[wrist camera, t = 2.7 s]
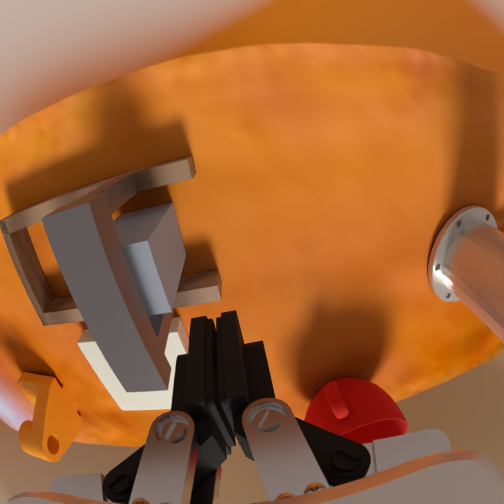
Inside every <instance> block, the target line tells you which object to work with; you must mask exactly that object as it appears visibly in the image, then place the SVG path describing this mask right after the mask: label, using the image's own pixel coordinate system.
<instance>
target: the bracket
mask: <svg viewBox="0 0 504 504" xmlns="http://www.w3.org/2000/svg"><path fill="white" fill-rule="evenodd" d="M18 384H19V385H20V387H21V388H22V390H23V391H24V392H25V394H26V395H27V397H28V398H29V400H30V401H31V402H32V404H33V405H34V406H35V409H34V416H33V421H30V420H27V421H24V422H23V423H22V424H21V426H20V429H19V442H20V445H21V447H22V449H23V450H24V451H25V452H26V453H28V454H30V455H33V456H36V457H39V458H42V459H45V460H48V461H51V462H57V461H59V460H60V458H61V457H62V456H63V454H64V453H65V451H66V450H67V449H68V447H69V446H70V444H71V443H72V442H73V440H74V439H75V437H76V436H77V435H78V433H79V432H80V431H81V428H82V425H83V422H84V421H83V420H82V419H81V417H80V416H79V414H78V413H77V411H78V407H77V406H76V404H75V403H74V401H73V400H72V398H71V397H70V395H69V394H68V392H67V390H66V389H65V387H64V386H62V385H59V384H58V382H57V380H56V379H55V377H50V376H44V375H38V374H32V373H27V372H23V373H22V375H21V377H20V378H19V380H18Z"/></svg>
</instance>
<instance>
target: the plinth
mask: <svg viewBox="0 0 504 504" xmlns="http://www.w3.org/2000/svg"><path fill="white" fill-rule="evenodd" d="M77 344H78V345H79V347H80V349H81V350H82V352H83V354H84V355H85V357H86V358H87V360H88V362H89V363H90V365H91V366H92V368H93V370H94V371H95V373H96V374H97V376H98V377H99V379H100V380H101V382H102V383H103V384H104V386H105V387H106V389H107V390H108V392H109V393H110V394H111V396H112V397H113V399H114V400H115V401H116V403H117V404H118V405H119V407H120V408H121V409H122V410H157V409H171V404H172V394H173V384H174V375H175V366H176V359H177V356H178V355H182V354H188V347H189V339H188V336H187V334H186V331H185V328H184V326H183V323H182V320H181V317H174V318H172V321H171V326H170V330H169V335H168V339H167V344H166V349H165V356H166V358H167V360H168V362H169V364H170V366H171V375H170V381H169V387H168V390H164V391H149V392H126V391H125V389H124V388H123V386H122V385H121V383H120V382H119V380H118V379H117V377H116V375H115V374H114V372H113V371H112V369H111V367H110V366H109V364H108V363H107V361H106V359H105V358H104V356H103V354H102V352H101V351H100V349H99V347H98V346H97V344H96V342H95V340H94V338H93V337H92V335H91V333H90V331H89V329H84V331H83V333H82V335H81V337H80V339H79V340H78V342H77Z"/></svg>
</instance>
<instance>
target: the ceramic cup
mask: <svg viewBox="0 0 504 504" xmlns="http://www.w3.org/2000/svg"><path fill="white" fill-rule="evenodd" d="M304 421H306V422H308V423H310V424H313V425H315V426H317V427H320V428H322V429H325V430H327V431H330V432H332V433H335V434H337V435H340V436H343V437H345V438H348V439H351V440H353V441H356V442H358V443H360V444H366V443H373V440H378V439H384V438H389V437H395V436H400V435H404V434H405V433H406V431H407V427H408V424H407V421H406V419H405V417H404V415H403V414H402V412H401V411H400V409H399V407H398V406H397V405H396V403H395V402H394V401H393V399H392V398H391V397H390V396H389V395H388V394H387V393H386V392H385V391H384V390H383V389H381V388H380V387H379V386H377V385H376V384H374V383H371V382H369V381H366V380H363V379H357V378H354V377H341V378H337V379H334V380H332V381H330V382H328V383H327V384H325V385H324V386H322V387H321V388H320V389H319V391H318V392H317V394H316V396H315V397H314V398H313V400H312V402H311V404H310V405H309V407H308V410H307V413H306V416H305V420H304Z"/></svg>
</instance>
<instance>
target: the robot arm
mask: <svg viewBox="0 0 504 504" xmlns="http://www.w3.org/2000/svg"><path fill="white" fill-rule="evenodd" d="M428 278H429V284H430V286H431V289H432V290H433V292H434V293H435V294H436V295H437V296H438V297H439V298H440V299H442V300H444V301H447V302H454V301H458V300H461V301H462V302H463V303H464V304H465V305H466V306H467V307H468V308H469V309H470V310H471V311H472V312H473V313H475V314H476V315H477V316H478V317H479V318H480V319H481V320H482V321H483V322H484V323H485V324H486V325H487V326H488V327H489V328H490V329H491V330H492V331H493V332H494V333H495V334H496V335H497V336H498V337H499V339H500V340H501V341H502V342H503V343H504V233H503V232H501V231H500V230H498V228H497V223H496V221H495V218H494V216H493V215H492V214H491V212H489V211H488V210H487V209H485V208H483V207H480V206H476V205H471V206H466V207H464V208H462V209H460V210H459V211H458V212H456V213H455V214H454V215H453V216H452V217H451V218H450V219H449V220H448V221H447V222H446V224H445V225H444V226H443V228H442V229H441V231H440V233H439V234H438V236H437V238H436V240H435V243H434V245H433V248H432V251H431V255H430V258H429V265H428ZM235 436H236V438H237V440H238V442H239V444H240V446H241V448H242V450H243V451H244V454H245V456H246V457H248V458H249V459H251V460H253V461H255V464H256V466H257V469H258V472H259V475H260V478H261V480H262V483H263V486H264V489H265V492H266V494H267V497H268V500H269V501H267V502H260V503H252V504H504V477H503V475H502V474H501V473H500V471H499V470H498V469H497V467H496V466H495V465H494V463H493V462H492V461H491V460H490V459H489V458H488V457H487V456H485V455H484V454H482V453H480V452H478V451H475V450H453V451H451V447H450V443H449V440H448V438H447V436H446V434H445V433H443V432H442V431H440V430H437V429H427V430H423V431H418V432H414V433H410V434H405V435H400V436H395V437H389V438H384V439H378V440H373V443H366V444H360V443H358V442H356V441H353V440H351V439H348V438H345V437H343V436H340V435H337V434H335V433H332V432H330V431H327V430H325V429H322V428H320V427H317V426H315V425H313V424H310V423H308V422H306V421H303V420H301V419H299V418H296V417H295V416H294V414H293V412H292V410H291V408H290V407H289V406H288V404H287V403H285V402H284V401H282V400H279V399H276V398H275V394H274V389H273V385H272V380H271V376H270V371H269V367H268V362H267V358H266V353H265V349H264V344H263V341H258V342H253V343H248V344H244V340H243V336H242V332H241V329H240V325H239V321H238V316H237V313H236V310H234V311H229V312H224V313H221V317H218V318H216V328H215V325H214V322H213V319H207V317H206V316H202V317H196V318H192V319H191V325H190V335H189V347H188V354H182V355H178V356H177V359H176V366H175V375H174V384H173V394H172V404H171V411H169V412H166V413H163V414H161V415H160V416H158V417H157V418H156V419H155V420H154V421H153V423H152V425H151V427H150V430H149V433H148V436H147V440H146V443H145V444H144V445H143V446H142V447H141V448H139V449H138V450H137V451H136V452H135V453H133V454H132V455H131V456H129V457H128V458H127V459H126V460H124V461H123V462H122V463H120V464H119V465H118V466H116V467H115V468H114V469H112V470H111V471H110V472H109V473H108V474H107V475H102V474H101V473H99V474H90V475H78V476H61V477H57V478H55V479H54V480H53V481H52V482H51V484H50V486H49V491H29V492H23V493H20V494H17V495H15V496H13V497H11V498H10V499H9V500H8V502H7V503H6V504H218V497H219V488H220V479H221V470H222V469H221V464H222V463H223V462H224V461H225V460H226V459H227V455H230V454H231V447H232V446H236V440H235Z"/></svg>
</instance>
